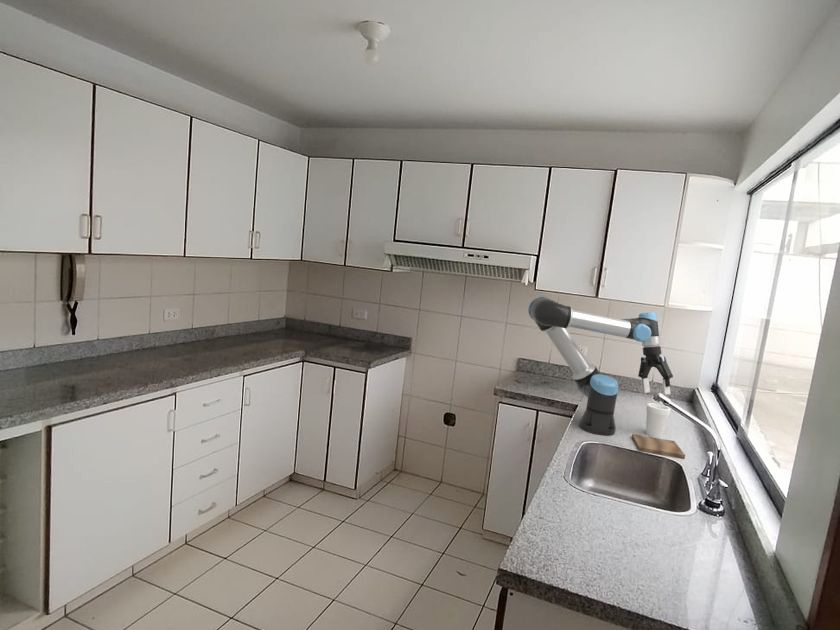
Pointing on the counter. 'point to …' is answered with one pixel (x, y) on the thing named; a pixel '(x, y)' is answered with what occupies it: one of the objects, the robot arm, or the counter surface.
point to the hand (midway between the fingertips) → (656, 393)
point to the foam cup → (656, 419)
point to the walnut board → (657, 446)
